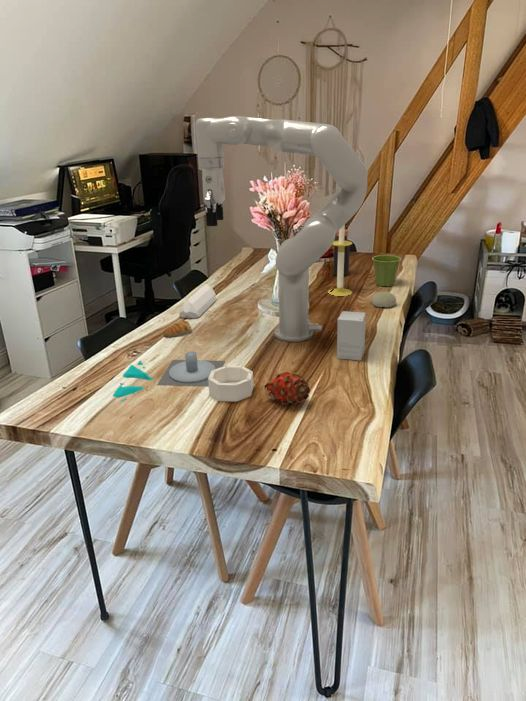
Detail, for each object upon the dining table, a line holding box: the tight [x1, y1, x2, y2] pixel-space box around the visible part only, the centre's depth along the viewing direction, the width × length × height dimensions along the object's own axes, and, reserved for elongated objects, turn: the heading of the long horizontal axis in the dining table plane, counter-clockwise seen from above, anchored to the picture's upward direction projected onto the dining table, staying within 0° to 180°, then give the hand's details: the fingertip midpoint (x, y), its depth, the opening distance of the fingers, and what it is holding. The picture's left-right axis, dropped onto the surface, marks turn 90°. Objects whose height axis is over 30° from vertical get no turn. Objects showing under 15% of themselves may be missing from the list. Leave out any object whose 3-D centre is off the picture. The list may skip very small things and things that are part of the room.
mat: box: [156, 359, 226, 388], centre depth 147 cm, size 16×16×1 cm
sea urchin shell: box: [370, 290, 397, 309], centre depth 195 cm, size 9×8×8 cm
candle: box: [327, 224, 353, 297], centre depth 202 cm, size 10×10×38 cm
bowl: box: [208, 365, 254, 402], centre depth 136 cm, size 11×11×5 cm
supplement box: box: [336, 310, 367, 361], centre depth 153 cm, size 7×7×13 cm
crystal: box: [178, 283, 217, 319], centre depth 197 cm, size 7×7×24 cm
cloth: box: [112, 360, 155, 403], centre depth 143 cm, size 26×14×2 cm, turn 168°
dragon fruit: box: [263, 371, 311, 406], centre depth 130 cm, size 8×8×12 cm
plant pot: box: [371, 254, 402, 287], centre depth 217 cm, size 12×12×11 cm
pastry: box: [163, 320, 193, 338], centre depth 175 cm, size 9×7×4 cm
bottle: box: [332, 229, 351, 277], centre depth 229 cm, size 7×7×20 cm
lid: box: [169, 351, 215, 383], centre depth 146 cm, size 13×13×6 cm
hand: (215, 222), depth 159 cm, fingers open, 9 cm apart
